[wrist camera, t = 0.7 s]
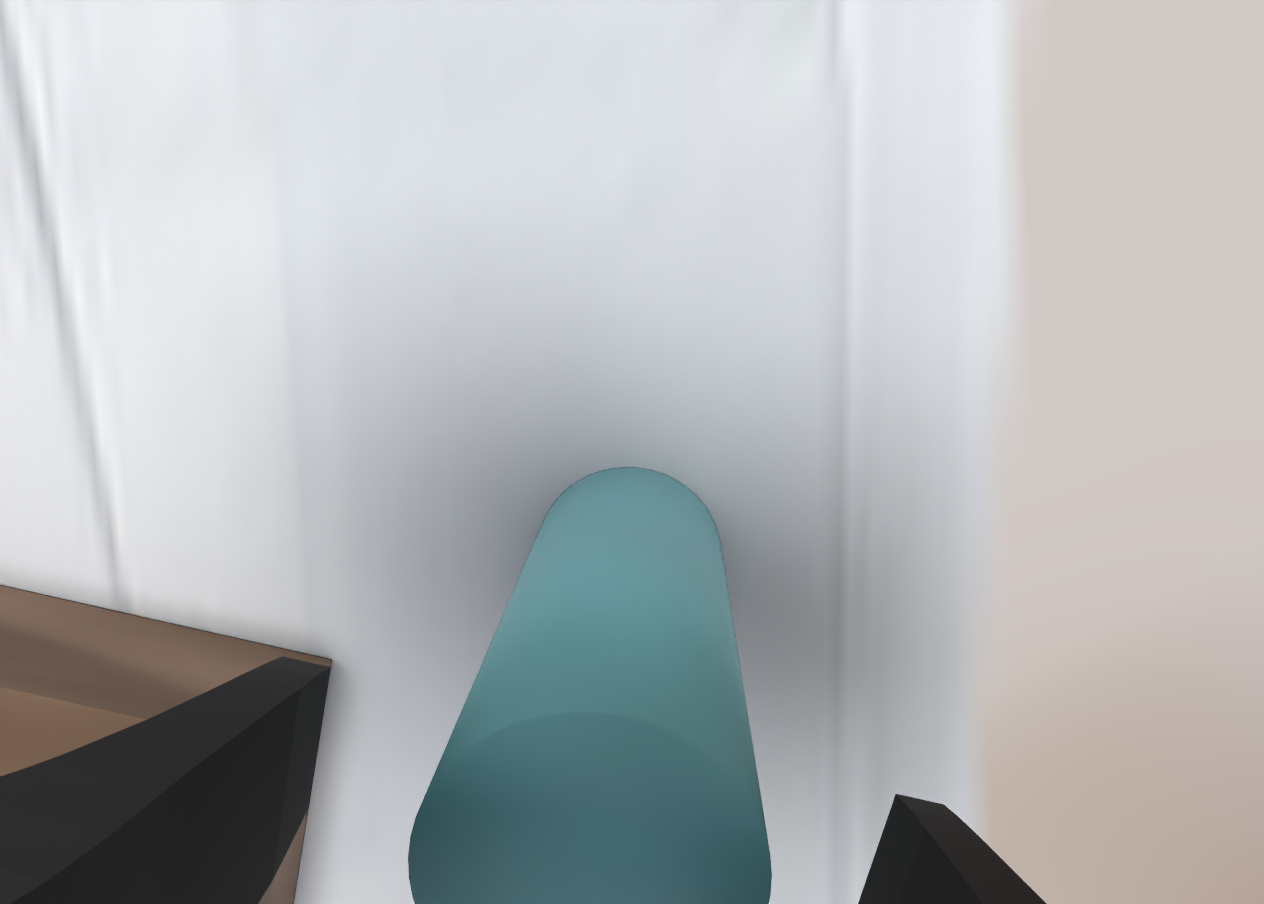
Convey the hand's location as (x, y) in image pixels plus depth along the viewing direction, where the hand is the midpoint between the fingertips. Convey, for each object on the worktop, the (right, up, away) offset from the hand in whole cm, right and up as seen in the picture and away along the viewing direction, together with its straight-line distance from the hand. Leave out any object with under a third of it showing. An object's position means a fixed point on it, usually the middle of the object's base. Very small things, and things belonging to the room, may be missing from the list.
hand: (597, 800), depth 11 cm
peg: (0, +2, +8) cm, 9 cm away
